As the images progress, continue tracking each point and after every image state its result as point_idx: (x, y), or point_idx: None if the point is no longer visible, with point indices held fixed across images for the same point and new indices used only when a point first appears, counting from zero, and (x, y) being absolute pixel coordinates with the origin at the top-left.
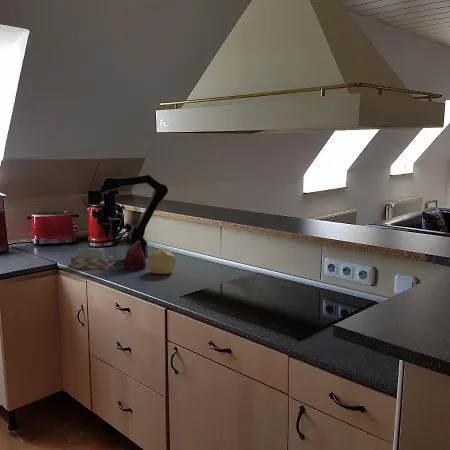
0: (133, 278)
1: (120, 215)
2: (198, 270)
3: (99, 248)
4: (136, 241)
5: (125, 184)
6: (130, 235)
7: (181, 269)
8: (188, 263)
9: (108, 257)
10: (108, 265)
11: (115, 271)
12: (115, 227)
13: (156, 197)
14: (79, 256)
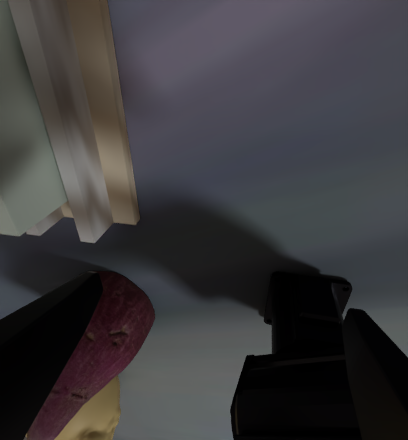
0: (7, 313)
1: None
2: (151, 422)
3: (3, 200)
4: (28, 436)
5: None
6: (282, 416)
7: (147, 399)
8: (220, 416)
9: (77, 222)
10: (62, 216)
11: (37, 252)
12: (383, 434)
13: None
14: None
